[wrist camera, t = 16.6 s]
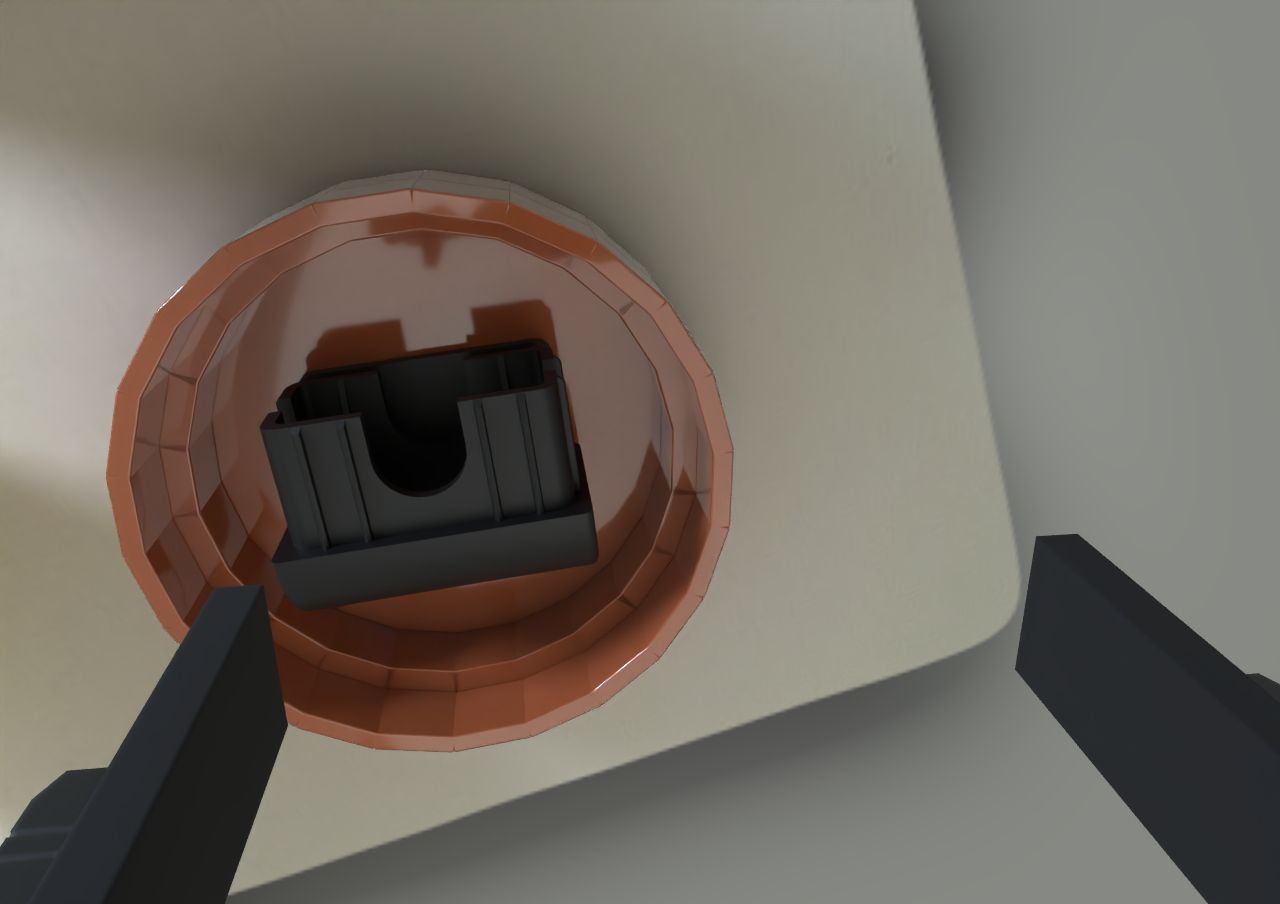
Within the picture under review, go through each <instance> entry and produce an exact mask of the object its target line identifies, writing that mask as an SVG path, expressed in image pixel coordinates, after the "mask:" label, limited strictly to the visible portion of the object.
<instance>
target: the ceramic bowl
mask: <svg viewBox="0 0 1280 904" xmlns="http://www.w3.org/2000/svg"><path fill="white" fill-rule="evenodd" d="M532 338H537V339H543V340H544V341H546V342H547V343H548V344H549V345H550V348H551V349H552V352H553V354H554V355H555V356H557V357H558V358H559V359H560V360H561V363H562V370H563V376H564V380H565V384H566V390H567V397H568V404H569V410H570V417H571V423H572V430H573V436H574V443H577V444H580V447H581V451H582V456H583V461H584V466H585V471H586V476H587V481H588V486H589V491H590V496H591V501H592V506H593V512H594V519H595V526H596V534H597V541H598V550H599V557H598V560H597V561H596V562H595V563H594V564H591V565H585V566H579V567H573V568H567V569H561V570H555V571H549V572H543V573H537V574H531V575H525V576H519V577H512V578H506V579H500V580H494V581H488V582H482V583H476V584H470V585H464V586H458V587H452V588H446V589H440V590H434V591H428V592H422V593H416V594H410V595H404V596H398V597H392V598H386V599H379V600H373V601H367V602H361V603H355V604H349V605H343V606H337V607H331V608H325V609H319V610H313V611H303V610H301V609H299V608H297V607H295V606H294V605H293V604H292V603H291V601H290V600H289V599H288V597H287V596H286V594H285V593H284V591H283V589H282V587H281V585H280V583H279V581H278V578H277V576H276V573H275V570H274V567H273V565H272V562H271V560H272V558H273V556H274V554H275V551H276V549H277V547H278V545H279V543H280V541H281V539H282V537H283V534H284V532H285V530H286V528H287V523H286V519H285V516H284V512H283V509H282V505H281V502H280V498H279V495H278V491H277V488H276V484H275V481H274V477H273V474H272V470H271V467H270V463H269V460H268V456H267V453H266V449H265V446H264V442H263V439H262V435H261V432H260V428H259V427H260V425H261V423H262V422H263V420H264V419H265V417H266V416H267V414H268V413H270V412H277V411H278V410H277V407H276V402H277V400H278V398H279V397H280V395H281V394H282V392H283V391H284V389H285V388H286V387H288V386H290V385H292V384H294V383H298V382H299V381H300V380H301V378H302V377H303V375H304V374H305V373H308V372H310V371H313V370H320V369H327V368H334V367H341V366H347V365H354V364H361V363H368V362H375V361H382V360H388V359H395V358H402V357H409V356H416V355H423V354H429V353H436V352H443V351H450V350H457V349H463V348H470V347H477V346H484V345H491V344H498V343H504V342H511V341H518V340H525V339H532ZM733 450H734V449H733V445H732V441H731V437H730V434H729V430H728V426H727V422H726V419H725V415H724V411H723V407H722V403H721V400H720V396H719V392H718V388H717V384H716V381H715V377H714V374H713V372H712V370H711V368H710V367H709V365H708V363H707V362H706V360H705V359H704V357H703V355H702V354H701V352H700V351H699V349H698V348H697V346H696V344H695V343H694V341H693V340H692V338H691V336H690V335H689V333H688V332H687V330H686V329H685V327H684V325H683V324H682V322H681V321H680V319H679V317H678V316H677V314H676V313H675V311H674V310H673V308H672V306H671V305H670V303H669V302H668V300H667V299H666V297H665V296H664V295H663V293H662V292H661V290H660V289H659V287H658V286H657V285H656V283H655V282H654V280H653V279H652V277H651V276H650V275H649V273H648V272H647V270H646V269H645V268H644V267H643V265H641V264H640V263H639V262H638V261H637V260H636V259H634V258H633V257H632V256H631V255H630V254H629V253H628V252H626V251H625V250H624V249H623V248H622V247H621V246H619V245H618V244H617V243H616V242H615V241H614V240H613V239H611V238H610V237H609V236H608V235H607V234H606V233H604V232H603V231H602V230H601V229H600V228H599V227H598V226H596V225H595V224H594V223H593V222H592V221H591V220H589V219H588V218H587V217H584V216H583V214H581V213H578V212H576V211H574V210H572V209H569V208H567V207H565V206H563V205H561V204H558V203H556V202H554V201H552V200H550V199H547V198H545V197H543V196H541V195H539V194H536V193H534V192H532V191H530V190H528V189H525V188H523V187H521V186H519V185H517V184H514V183H512V182H508V181H505V180H497V179H490V178H483V177H476V176H469V175H462V174H455V173H448V172H441V171H434V170H426V171H425V170H417V171H410V172H404V173H397V174H391V175H384V176H377V177H371V178H364V179H358V180H351V181H344V182H342V183H338V184H336V185H334V186H332V187H330V188H327V189H325V190H323V191H321V192H319V193H317V194H315V195H313V196H311V197H309V198H307V199H305V200H303V201H301V202H299V203H297V204H294V205H292V206H290V207H288V208H286V209H284V210H282V211H280V212H278V213H276V214H274V215H272V216H270V217H268V218H266V219H265V220H263V221H262V222H260V223H258V224H257V225H255V226H254V227H252V228H251V229H249V230H248V231H246V232H244V233H243V234H241V235H240V236H238V237H237V238H235V239H234V240H232V241H230V242H229V243H227V244H226V245H224V246H223V247H222V248H221V249H220V250H218V251H217V252H216V253H215V254H214V255H213V256H212V257H211V258H210V259H209V260H208V261H207V262H206V263H205V264H204V265H203V266H202V267H201V268H200V269H199V270H198V271H197V272H196V273H195V274H194V275H193V276H192V277H191V278H190V279H189V280H188V281H187V282H185V283H184V284H183V285H182V286H181V287H180V288H179V289H178V290H177V291H176V292H175V293H174V294H173V295H172V296H171V297H170V298H169V299H168V300H167V301H166V302H165V303H164V304H163V305H162V306H161V307H160V308H159V309H158V310H157V312H156V313H155V315H154V317H153V319H152V321H151V323H150V325H149V327H148V329H147V331H146V333H145V335H144V337H143V339H142V341H141V343H140V345H139V347H138V348H137V350H136V352H135V354H134V356H133V358H132V360H131V362H130V364H129V366H128V368H127V370H126V372H125V374H124V376H123V378H122V380H121V382H120V384H119V386H118V391H117V392H116V398H115V406H114V414H113V422H112V430H111V438H110V446H109V454H108V462H107V470H106V475H107V476H106V480H107V485H108V490H109V494H110V499H111V504H112V508H113V513H114V518H115V522H116V527H117V532H118V537H119V541H120V546H121V551H122V555H123V558H124V560H125V562H126V564H127V566H128V567H129V569H130V571H131V573H132V574H133V576H134V578H135V580H136V581H137V583H138V585H139V587H140V588H141V590H142V592H143V594H144V595H145V597H146V599H147V601H148V602H149V604H150V606H151V608H152V609H153V611H154V613H155V615H156V616H157V618H158V620H159V622H160V623H161V625H162V627H163V629H166V632H167V633H168V634H169V635H170V636H171V637H172V638H173V639H174V640H175V641H176V642H178V643H179V644H180V645H181V643H182V641H183V640H184V638H185V636H186V635H187V633H188V631H189V630H190V628H191V626H192V624H193V623H194V621H195V619H196V618H197V616H198V614H199V613H200V611H201V609H202V608H203V606H204V604H205V602H206V601H207V599H208V597H209V596H210V594H211V592H212V591H213V589H214V588H216V587H232V586H248V585H264V590H265V596H266V602H267V607H268V613H269V619H270V625H271V630H272V636H273V642H274V648H275V653H276V659H277V665H278V671H279V676H280V682H281V688H282V694H283V699H284V705H285V711H286V717H287V722H288V723H289V724H291V725H292V726H296V727H297V728H299V729H303V730H306V731H310V732H314V733H317V734H321V735H325V736H328V737H332V738H335V739H339V740H343V741H346V742H350V743H354V744H357V745H361V746H364V747H368V748H372V749H374V748H375V749H381V750H407V751H433V752H454V751H455V752H458V751H463V750H468V749H473V748H478V747H484V746H489V745H494V744H499V743H504V742H509V741H514V740H520V739H525V738H530V737H534V736H536V735H538V734H540V733H542V732H545V731H547V730H549V729H551V728H553V727H556V726H558V725H560V724H562V723H564V722H567V721H569V720H571V719H573V718H575V717H578V716H580V715H582V714H584V713H586V712H589V711H591V710H593V709H595V708H597V707H600V706H601V705H603V704H604V703H605V702H606V701H608V700H609V699H610V698H611V697H613V696H614V695H615V694H616V693H618V692H619V691H620V690H621V689H623V688H624V687H625V686H626V685H628V684H629V683H630V682H631V681H633V680H634V679H635V678H636V677H638V676H639V675H640V674H641V673H643V672H644V671H645V670H646V669H648V668H649V667H650V666H651V665H653V664H654V663H655V662H656V661H658V660H659V659H660V657H661V656H662V655H663V654H664V652H665V651H666V649H667V648H668V647H669V645H670V644H671V643H672V641H673V640H674V639H675V637H676V636H677V634H678V633H679V632H680V630H681V629H682V628H683V626H684V625H685V623H686V622H687V621H688V619H689V618H690V617H691V615H692V614H693V613H694V611H695V610H696V608H697V607H698V606H699V604H700V603H701V602H702V600H703V597H704V596H705V595H706V592H707V589H708V586H709V584H710V581H711V578H712V575H713V572H714V570H715V567H716V564H717V561H718V559H719V556H720V553H721V550H722V548H723V545H724V542H725V539H726V537H727V534H728V531H729V526H730V517H731V496H732V476H733V455H734V452H733Z"/></svg>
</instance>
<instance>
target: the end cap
mask: <svg viewBox="0 0 1280 904" xmlns="http://www.w3.org/2000/svg"><path fill="white" fill-rule="evenodd" d="M276 407H277V410H278V411H277V412H270V413H268V414H267V416H266V417H265V419H264V420H263V422H262V423H261V425H260V427H259V428H260V432H261V435H262V439H263V442H264V446H265V449H266V453H267V456H268V460H269V463H270V467H271V470H272V474H273V477H274V481H275V484H276V488H277V491H278V495H279V498H280V502H281V505H282V509H283V512H284V516H285V519H286V523H287V528H286V530H285V532H284V534H283V537H282V539H281V541H280V543H279V545H278V547H277V549H276V551H275V554H274V556H273V558H272V560H271V562H272V565H273V567H274V570H275V573H276V576H277V578H278V581H279V583H280V585H281V587H282V589H283V591H284V593H285V594H286V596H287V597H288V599H289V600H290V601H291V603H292V604H293V605H294V606H295V607H297V608H299V609H301V610H303V611H313V610H319V609H325V608H331V607H337V606H343V605H349V604H355V603H361V602H367V601H373V600H379V599H386V598H392V597H398V596H404V595H410V594H416V593H422V592H428V591H434V590H440V589H446V588H452V587H458V586H464V585H470V584H476V583H482V582H488V581H494V580H500V579H506V578H512V577H519V576H525V575H531V574H537V573H543V572H549V571H555V570H561V569H567V568H573V567H579V566H585V565H591V564H594V563H595V562H596V561H597V560H598V557H599V550H598V541H597V534H596V526H595V519H594V512H593V506H592V501H591V496H590V491H589V486H588V481H587V476H586V471H585V466H584V461H583V456H582V451H581V447H580V444H577V443H574V436H573V430H572V423H571V417H570V410H569V404H568V397H567V390H566V384H565V380H564V376H563V370H562V363H561V360H560V359H559V358H558V357H557V356H555V355H554V354H553V352H552V349H551V348H550V345H549V344H548V343H547V342H546V341H544V340H543V339H537V338H532V339H525V340H518V341H511V342H504V343H498V344H491V345H484V346H477V347H470V348H463V349H457V350H450V351H443V352H436V353H429V354H423V355H416V356H409V357H402V358H395V359H388V360H382V361H375V362H368V363H361V364H354V365H347V366H341V367H334V368H327V369H320V370H313V371H310V372H308V373H305V374H304V375H303V377H302V378H301V380H300V381H299V382H298V383H294V384H292V385H290V386H288V387H286V388H285V389H284V391H283V392H282V394H281V395H280V397H279V398H278V400H277V402H276Z"/></svg>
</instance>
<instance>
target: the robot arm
mask: <svg viewBox="0 0 1280 904" xmlns="http://www.w3.org/2000/svg"><path fill="white" fill-rule="evenodd" d="M1015 670H1016V671H1017V672H1018V673H1019V675H1020V676H1021V677H1022V678H1023V679H1024V681H1025V682H1026V683H1027V684H1028V686H1029V687H1030V688H1031V689H1032V690H1033V692H1034V693H1035V694H1036V695H1037V697H1038V698H1039V699H1040V700H1041V701H1042V703H1043V704H1044V705H1045V706H1046V707H1047V709H1048V710H1049V711H1050V712H1051V713H1052V715H1053V716H1054V717H1055V718H1056V719H1057V721H1058V722H1059V723H1060V724H1061V726H1062V727H1063V728H1064V729H1065V730H1066V732H1067V733H1068V734H1069V735H1070V737H1071V738H1072V739H1073V740H1074V741H1075V743H1076V744H1077V745H1078V746H1079V748H1080V749H1081V750H1082V751H1083V752H1084V754H1085V755H1086V756H1087V757H1088V758H1089V760H1090V761H1091V762H1092V763H1093V765H1094V766H1095V767H1096V768H1097V769H1098V770H1099V772H1100V773H1101V774H1102V775H1103V777H1104V778H1105V779H1106V780H1107V781H1108V783H1109V784H1110V785H1111V786H1112V788H1113V789H1114V790H1115V791H1116V792H1117V794H1118V795H1119V796H1120V797H1121V798H1122V800H1123V801H1124V802H1125V803H1126V804H1127V806H1128V807H1129V808H1130V809H1131V811H1132V812H1133V813H1134V814H1135V816H1136V817H1137V818H1138V819H1139V820H1140V822H1141V823H1142V824H1143V825H1144V826H1145V828H1146V829H1147V830H1148V831H1149V833H1150V834H1151V835H1152V836H1153V837H1154V838H1155V840H1156V841H1157V842H1158V843H1159V845H1160V846H1161V847H1162V848H1163V850H1164V851H1165V852H1166V853H1167V854H1168V856H1169V857H1170V858H1171V859H1172V860H1173V862H1174V863H1175V864H1176V865H1177V867H1178V868H1179V869H1180V870H1181V871H1182V873H1183V874H1184V875H1185V876H1186V877H1187V879H1188V880H1189V881H1190V882H1191V884H1192V885H1193V886H1194V887H1195V888H1196V890H1197V891H1198V892H1199V893H1200V894H1201V896H1202V897H1203V898H1204V899H1205V900H1206V902H1207V903H1208V904H1280V684H1278V683H1276V682H1274V681H1272V680H1270V679H1268V678H1266V677H1264V676H1262V675H1260V674H1245V673H1243V672H1242V671H1241V670H1240V669H1239V668H1238V667H1236V666H1235V665H1234V664H1233V663H1232V662H1230V661H1229V660H1228V659H1227V658H1226V657H1224V656H1223V655H1222V654H1221V653H1220V652H1218V651H1217V650H1216V649H1215V648H1214V647H1212V646H1211V645H1210V644H1209V643H1208V642H1207V641H1205V640H1204V639H1203V638H1202V637H1201V636H1199V635H1198V634H1197V633H1196V632H1194V631H1193V630H1192V629H1191V628H1190V627H1189V626H1187V625H1186V624H1185V623H1184V622H1183V621H1181V620H1180V619H1179V618H1178V617H1177V616H1175V615H1174V614H1173V613H1172V612H1170V611H1169V610H1168V609H1167V608H1166V607H1165V606H1163V605H1162V604H1161V603H1160V602H1159V601H1157V600H1156V599H1155V598H1154V597H1153V596H1151V595H1150V594H1149V593H1148V592H1146V591H1145V590H1144V589H1143V588H1142V587H1140V586H1139V585H1138V584H1137V583H1136V582H1135V581H1133V580H1132V579H1131V578H1130V577H1129V576H1127V575H1126V574H1125V573H1124V572H1123V571H1121V570H1120V569H1119V568H1118V567H1117V566H1115V565H1114V564H1113V563H1112V562H1111V561H1109V560H1108V559H1107V558H1106V557H1105V556H1103V555H1102V554H1101V553H1100V552H1099V551H1097V550H1096V549H1095V548H1094V547H1093V546H1091V545H1090V544H1089V543H1088V542H1087V541H1085V540H1084V539H1083V538H1082V537H1080V536H1079V535H1078V534H1069V535H1068V534H1067V535H1051V536H1037V537H1036V541H1035V547H1034V554H1033V560H1032V566H1031V573H1030V579H1029V585H1028V591H1027V598H1026V604H1025V610H1024V616H1023V623H1022V629H1021V636H1020V642H1019V648H1018V654H1017V661H1016V668H1015ZM287 727H288V722H287V717H286V711H285V705H284V699H283V694H282V688H281V682H280V676H279V671H278V665H277V659H276V653H275V648H274V642H273V636H272V630H271V625H270V619H269V613H268V607H267V602H266V596H265V590H264V585H248V586H232V587H216V588H214V589H213V591H212V592H211V594H210V596H209V597H208V599H207V601H206V602H205V604H204V606H203V608H202V609H201V611H200V613H199V614H198V616H197V618H196V619H195V621H194V623H193V624H192V626H191V628H190V630H189V631H188V633H187V635H186V636H185V638H184V640H183V641H182V643H181V645H180V646H179V648H178V650H177V651H176V653H175V655H174V657H173V658H172V660H171V662H170V663H169V665H168V667H167V668H166V670H165V672H164V673H163V675H162V677H161V679H160V680H159V682H158V684H157V685H156V687H155V689H154V690H153V692H152V694H151V695H150V697H149V699H148V700H147V702H146V704H145V706H144V707H143V709H142V711H141V712H140V714H139V716H138V717H137V719H136V721H135V722H134V724H133V726H132V728H131V729H130V731H129V733H128V734H127V736H126V738H125V739H124V741H123V743H122V744H121V746H120V748H119V750H118V751H117V753H116V755H115V756H114V758H113V760H112V761H111V763H110V765H109V766H108V767H107V768H95V769H82V770H70V771H66V772H65V773H64V774H62V775H61V776H60V777H59V778H57V779H56V780H55V781H54V782H53V783H51V784H50V785H49V786H48V787H47V788H45V789H44V790H43V791H42V792H40V793H39V794H38V795H37V796H36V797H34V798H33V799H32V800H31V802H30V803H29V805H28V806H27V808H26V809H25V811H24V812H23V814H22V815H21V817H20V818H19V819H18V821H17V822H16V824H15V825H14V827H13V828H12V830H11V831H10V832H11V835H10V838H6V839H5V840H4V842H3V843H2V845H1V846H0V904H225V901H226V898H227V896H228V893H229V890H230V887H231V884H232V882H233V879H234V876H235V873H236V870H237V867H238V865H239V862H240V859H241V856H242V853H243V851H244V848H245V845H246V842H247V839H248V836H249V834H250V831H251V828H252V825H253V822H254V820H255V817H256V814H257V811H258V808H259V805H260V803H261V800H262V797H263V794H264V791H265V789H266V786H267V783H268V780H269V777H270V775H271V772H272V769H273V766H274V763H275V760H276V758H277V755H278V752H279V749H280V746H281V744H282V741H283V738H284V735H285V732H286V729H287Z"/></svg>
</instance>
